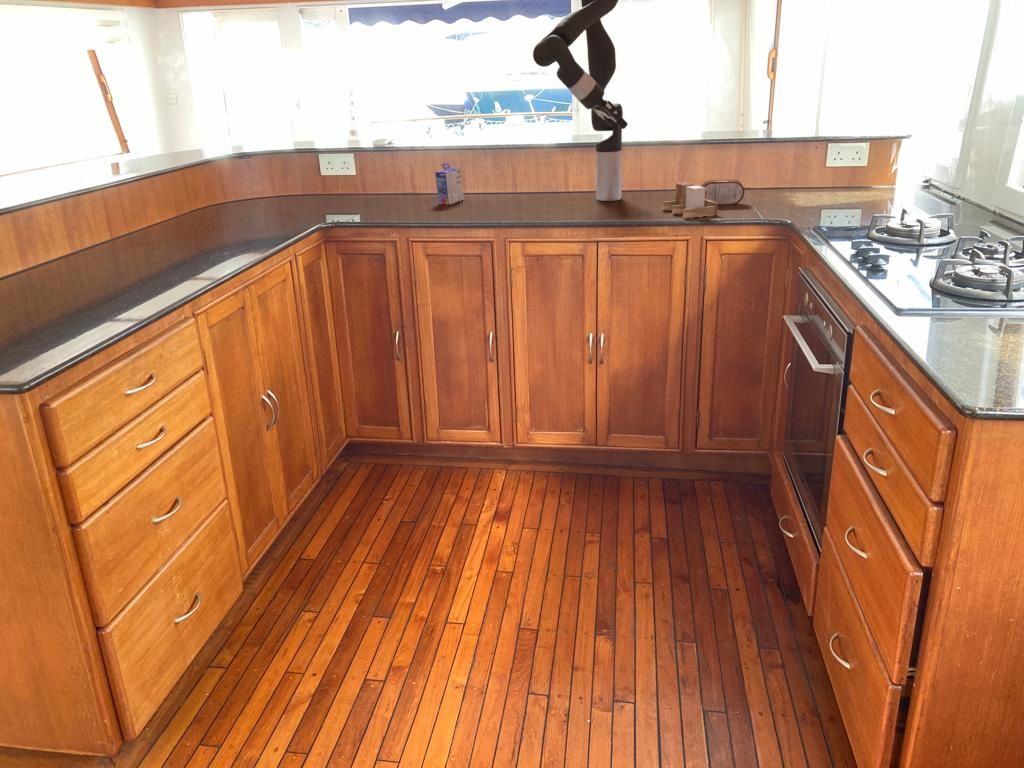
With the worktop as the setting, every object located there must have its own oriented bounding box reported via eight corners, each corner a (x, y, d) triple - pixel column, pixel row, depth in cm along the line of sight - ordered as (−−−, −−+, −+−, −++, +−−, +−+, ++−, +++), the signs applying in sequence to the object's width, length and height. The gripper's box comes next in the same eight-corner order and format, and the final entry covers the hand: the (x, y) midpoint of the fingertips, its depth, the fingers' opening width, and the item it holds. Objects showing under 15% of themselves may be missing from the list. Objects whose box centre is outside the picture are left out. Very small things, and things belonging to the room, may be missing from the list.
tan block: (675, 210, 269) (676, 183, 266) (685, 209, 270) (686, 182, 267) (682, 213, 265) (683, 185, 261) (693, 211, 266) (694, 184, 262)
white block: (685, 214, 262) (686, 186, 259) (696, 213, 263) (697, 185, 260) (692, 217, 258) (693, 188, 254) (703, 215, 259) (705, 187, 255)
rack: (662, 210, 269) (662, 198, 268) (694, 207, 272) (694, 195, 271) (683, 219, 256) (684, 206, 254) (717, 215, 258) (717, 202, 257)
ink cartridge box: (452, 199, 308) (450, 161, 303) (464, 200, 306) (461, 161, 300) (437, 204, 301) (434, 165, 295) (449, 205, 298) (446, 165, 292)
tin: (742, 203, 275) (744, 178, 272) (744, 205, 272) (746, 180, 269) (698, 204, 276) (699, 180, 273) (699, 206, 274) (700, 181, 270)
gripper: (602, 80, 240) (637, 117, 247) (585, 79, 253) (618, 115, 260) (586, 100, 241) (621, 137, 248) (570, 98, 253) (603, 133, 261)
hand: (620, 125), depth 254 cm, fingers open, 8 cm apart
